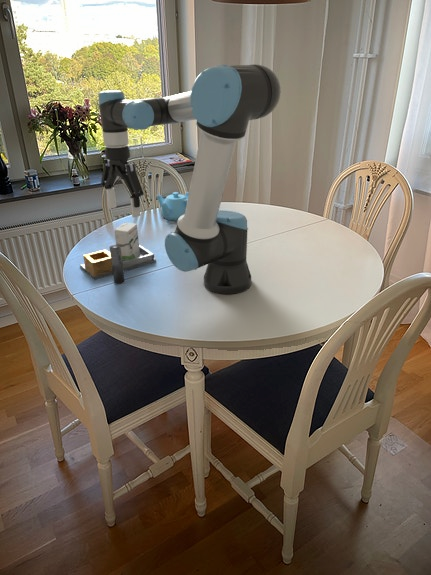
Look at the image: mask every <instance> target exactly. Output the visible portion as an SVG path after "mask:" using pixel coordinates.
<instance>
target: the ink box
mask: <svg viewBox="0 0 431 575" xmlns="http://www.w3.org/2000/svg"><path fill="white" fill-rule="evenodd" d="M138 232H139V230H138V223H133V222H123V223H122V224H120V225H119V226H118V227H117V228H115V229H114V236H115V237H114V238H115V245H120V246H121V254H122V262H123V261H126V260H130V259H134V258H137V257H138V256H139V255H140V250H139V245H140V243H139V242H140V240H139V233H138Z"/></svg>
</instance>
